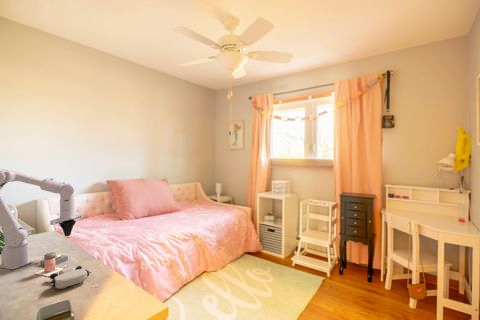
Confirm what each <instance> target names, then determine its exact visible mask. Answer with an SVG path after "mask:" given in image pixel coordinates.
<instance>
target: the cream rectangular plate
mask: <svg viewBox="0 0 480 320" xmlns="http://www.w3.org/2000/svg"><path fill="white" fill-rule="evenodd" d="M62 269H64V268H62V267H56V266H55V270H54V271H52V272H49V273H45V272H44V269H42V270H39V271H37V272H34V275H37V276H38V275H39V276H41V277H42V276H43V277H48V276H49V275H51V274H53V273H56V274H58V273H59V272H60V270H62Z"/></svg>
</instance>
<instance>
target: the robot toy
mask: <svg viewBox="0 0 480 320" xmlns="http://www.w3.org/2000/svg"><path fill="white" fill-rule="evenodd" d="M90 273H91V274H92V273H93V271H89V270H87V269H85V268H83V266H82V265H78V266H76V268H75V266H68V267H64V268H63V269H62V270H60V272H58V273H53V274H51V275H49V276H48V279H50V280H51V282H50V283H49V286H51V287H52V288H55V289H60V290H62V289H66V288H68V287H70V286H74V285H78V284H81V283H83V281H85V280H86V279H88V278H89V275H90Z"/></svg>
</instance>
